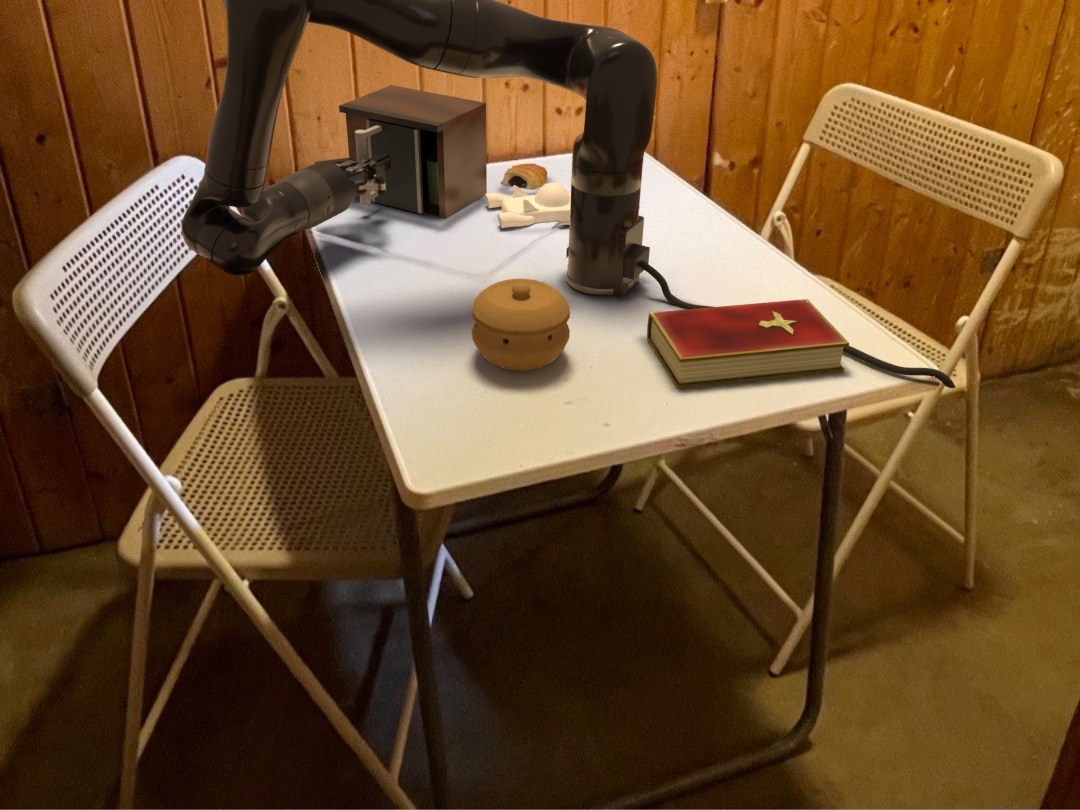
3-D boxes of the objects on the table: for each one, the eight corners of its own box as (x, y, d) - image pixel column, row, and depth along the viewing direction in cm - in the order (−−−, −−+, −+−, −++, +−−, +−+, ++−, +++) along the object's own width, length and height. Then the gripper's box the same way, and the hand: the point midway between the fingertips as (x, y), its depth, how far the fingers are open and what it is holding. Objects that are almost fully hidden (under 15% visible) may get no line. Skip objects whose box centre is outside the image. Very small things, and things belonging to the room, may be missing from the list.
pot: (525, 325, 130) (526, 253, 124) (588, 361, 122) (592, 287, 117) (452, 354, 123) (449, 280, 117) (514, 394, 116) (515, 317, 110)
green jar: (462, 198, 162) (461, 156, 159) (446, 207, 159) (444, 164, 155) (438, 192, 164) (436, 150, 160) (422, 201, 161) (420, 159, 157)
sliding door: (399, 225, 152) (394, 140, 145) (349, 213, 156) (342, 129, 148) (423, 212, 156) (419, 128, 149) (374, 200, 160) (368, 118, 153)
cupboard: (441, 229, 155) (437, 125, 146) (347, 205, 162) (338, 105, 153) (486, 201, 165) (486, 102, 156) (396, 180, 172) (391, 84, 163)
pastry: (520, 173, 176) (521, 152, 174) (556, 179, 174) (557, 158, 172) (498, 191, 168) (498, 169, 166) (535, 198, 166) (536, 175, 164)
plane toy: (625, 226, 157) (627, 190, 154) (500, 238, 152) (500, 202, 149) (603, 201, 165) (605, 167, 162) (484, 212, 161) (484, 177, 157)
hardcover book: (646, 338, 127) (648, 309, 125) (800, 324, 131) (806, 295, 129) (677, 388, 117) (680, 357, 115) (843, 371, 121) (849, 340, 119)
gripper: (347, 179, 133) (422, 143, 146) (270, 161, 139) (349, 127, 152) (351, 232, 138) (424, 192, 150) (276, 212, 143) (353, 176, 156)
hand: (386, 160), depth 151 cm, fingers closed
